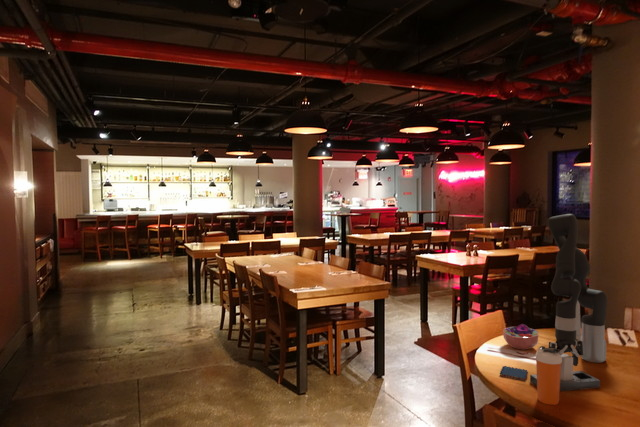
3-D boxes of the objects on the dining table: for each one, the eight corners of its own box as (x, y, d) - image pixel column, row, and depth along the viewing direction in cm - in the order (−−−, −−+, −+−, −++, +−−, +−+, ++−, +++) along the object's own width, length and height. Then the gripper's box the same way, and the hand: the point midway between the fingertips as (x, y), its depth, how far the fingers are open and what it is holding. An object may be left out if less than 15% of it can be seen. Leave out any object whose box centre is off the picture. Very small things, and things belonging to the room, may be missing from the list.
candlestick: (590, 338, 235) (591, 283, 234) (591, 345, 224) (592, 287, 223) (563, 334, 241) (564, 281, 240) (563, 341, 230) (563, 285, 229)
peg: (565, 382, 180) (565, 353, 179) (572, 386, 176) (573, 357, 175) (557, 383, 179) (557, 354, 178) (564, 387, 175) (564, 358, 175)
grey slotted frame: (580, 377, 184) (581, 370, 184) (599, 387, 174) (599, 380, 174) (530, 381, 180) (530, 374, 180) (546, 392, 170) (546, 385, 170)
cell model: (495, 348, 221) (495, 326, 220) (512, 339, 234) (512, 318, 234) (529, 356, 208) (529, 333, 208) (545, 347, 222) (546, 325, 221)
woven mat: (526, 382, 180) (526, 378, 180) (499, 377, 186) (499, 373, 186) (528, 374, 190) (528, 369, 189) (502, 369, 195) (502, 364, 195)
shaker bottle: (560, 408, 158) (561, 354, 157) (533, 402, 162) (534, 350, 162) (562, 398, 165) (562, 347, 164) (536, 393, 170) (536, 343, 169)
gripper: (574, 323, 181) (573, 361, 182) (543, 325, 179) (543, 364, 179) (588, 328, 174) (587, 368, 174) (556, 331, 171) (556, 371, 172)
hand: (565, 366), depth 177 cm, fingers open, 8 cm apart
